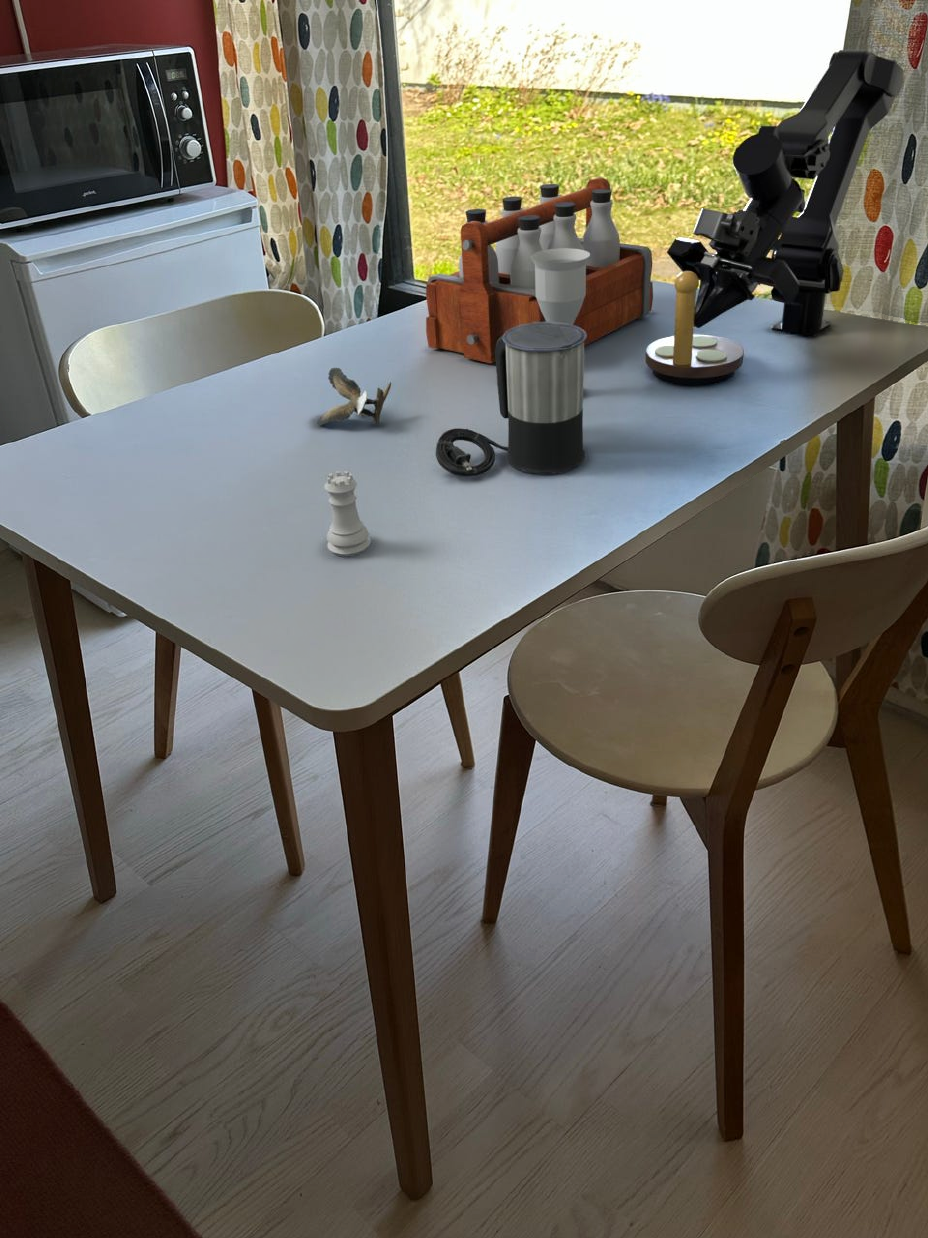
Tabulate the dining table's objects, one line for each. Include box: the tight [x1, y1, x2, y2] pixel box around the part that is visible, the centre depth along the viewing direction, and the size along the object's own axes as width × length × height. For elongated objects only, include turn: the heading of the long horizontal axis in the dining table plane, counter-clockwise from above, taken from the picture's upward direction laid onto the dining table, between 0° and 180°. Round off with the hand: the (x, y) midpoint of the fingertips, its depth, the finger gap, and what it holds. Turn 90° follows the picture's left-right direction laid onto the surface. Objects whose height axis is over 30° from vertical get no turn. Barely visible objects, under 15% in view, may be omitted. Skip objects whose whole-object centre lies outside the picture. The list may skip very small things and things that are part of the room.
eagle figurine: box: [316, 367, 392, 427], centre depth 132 cm, size 8×7×9 cm
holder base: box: [651, 369, 735, 387], centre depth 141 cm, size 11×11×1 cm
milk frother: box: [435, 322, 587, 477], centre depth 116 cm, size 14×16×15 cm
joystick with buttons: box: [644, 271, 745, 378], centre depth 137 cm, size 13×13×13 cm
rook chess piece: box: [324, 470, 372, 558], centre depth 104 cm, size 4×4×8 cm
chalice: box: [531, 248, 590, 325], centre depth 132 cm, size 7×7×18 cm
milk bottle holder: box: [425, 177, 654, 364], centre depth 153 cm, size 21×35×19 cm, turn 141°
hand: (694, 325), depth 134 cm, fingers closed
